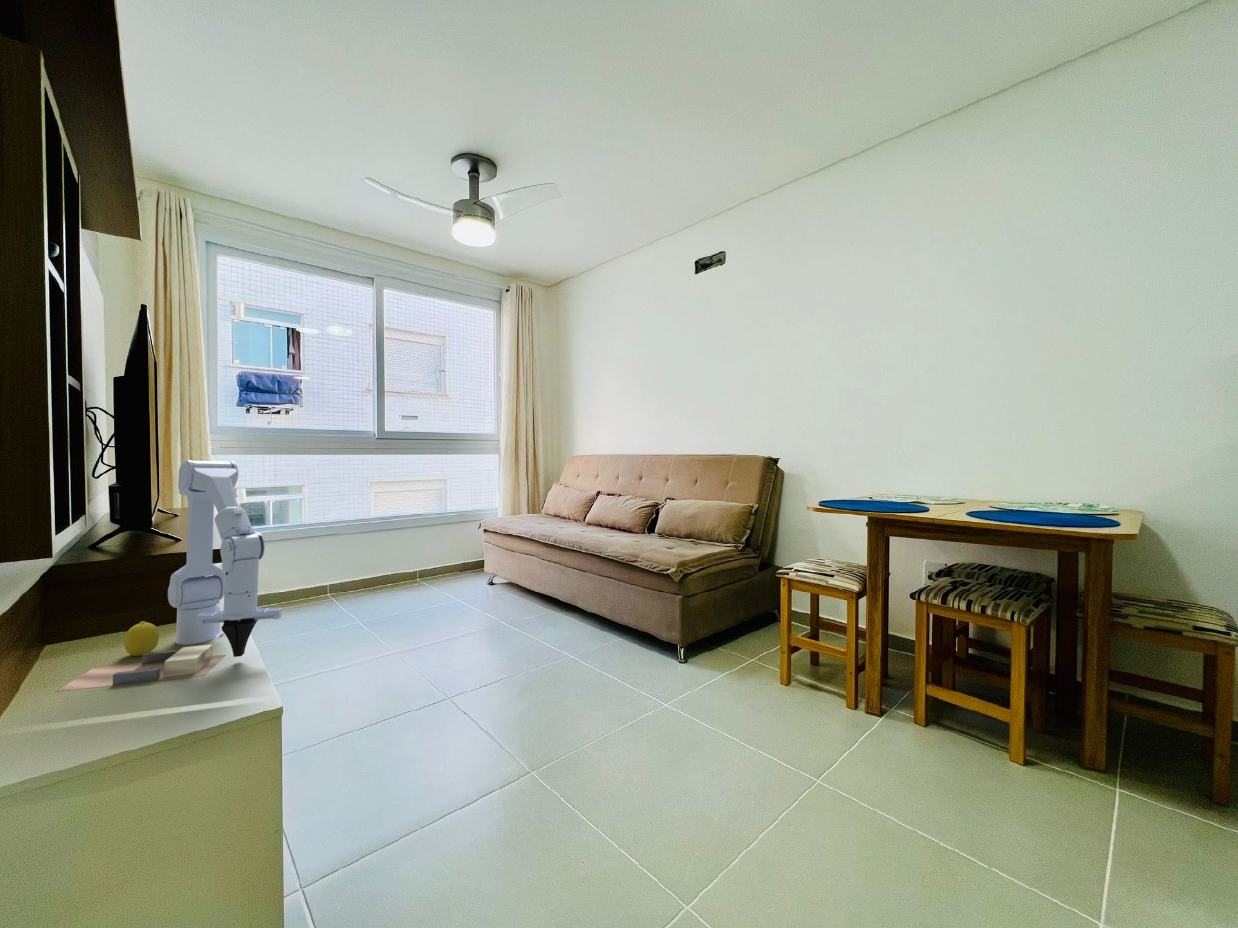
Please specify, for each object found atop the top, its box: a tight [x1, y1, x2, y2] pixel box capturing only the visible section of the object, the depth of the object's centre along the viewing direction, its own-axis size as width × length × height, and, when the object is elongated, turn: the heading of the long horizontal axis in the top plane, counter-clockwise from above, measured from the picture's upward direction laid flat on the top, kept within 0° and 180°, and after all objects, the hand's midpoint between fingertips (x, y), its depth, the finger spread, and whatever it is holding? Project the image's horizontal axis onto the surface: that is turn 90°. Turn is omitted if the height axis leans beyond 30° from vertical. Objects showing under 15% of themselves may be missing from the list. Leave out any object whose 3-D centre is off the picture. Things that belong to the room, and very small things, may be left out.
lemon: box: [123, 620, 160, 657], centre depth 109 cm, size 6×6×8 cm
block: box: [164, 644, 213, 677], centre depth 103 cm, size 8×5×3 cm, turn 22°
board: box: [55, 654, 226, 693], centre depth 100 cm, size 12×22×1 cm, turn 112°
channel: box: [113, 649, 180, 686], centre depth 100 cm, size 12×6×2 cm, turn 22°
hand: (239, 654), depth 106 cm, fingers closed
